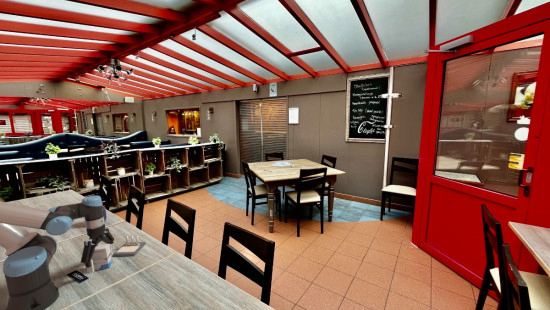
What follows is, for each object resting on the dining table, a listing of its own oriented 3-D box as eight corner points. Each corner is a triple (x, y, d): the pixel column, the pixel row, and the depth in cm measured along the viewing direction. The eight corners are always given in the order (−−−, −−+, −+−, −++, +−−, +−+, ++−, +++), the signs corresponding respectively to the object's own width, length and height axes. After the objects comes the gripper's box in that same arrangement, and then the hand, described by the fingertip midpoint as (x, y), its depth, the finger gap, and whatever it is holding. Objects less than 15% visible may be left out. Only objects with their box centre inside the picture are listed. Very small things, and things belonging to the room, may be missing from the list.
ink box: (112, 262, 118) (110, 243, 116) (108, 268, 113) (105, 248, 112) (94, 265, 116) (91, 245, 114) (89, 271, 111) (86, 250, 109)
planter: (104, 225, 161) (102, 211, 159) (86, 227, 157) (84, 213, 155) (109, 219, 171) (107, 205, 169) (92, 221, 167) (90, 207, 165)
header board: (134, 255, 124) (133, 243, 123) (112, 256, 124) (111, 244, 122) (145, 244, 136) (144, 233, 135) (126, 244, 135) (124, 233, 134)
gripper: (83, 238, 99) (89, 279, 102) (119, 215, 124) (123, 249, 127) (66, 239, 99) (73, 280, 102) (105, 215, 123) (109, 249, 126)
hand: (100, 263), depth 114 cm, fingers open, 13 cm apart
